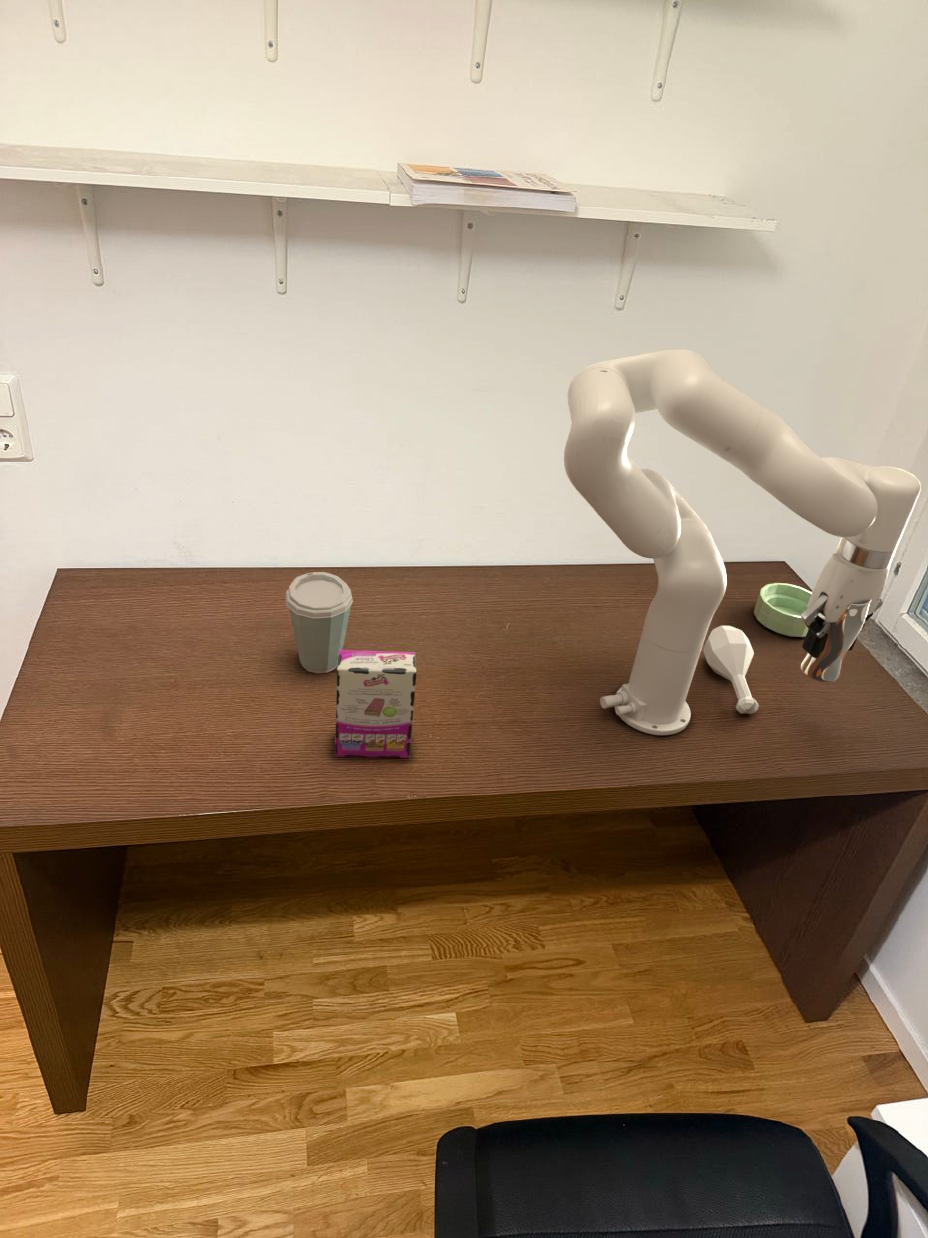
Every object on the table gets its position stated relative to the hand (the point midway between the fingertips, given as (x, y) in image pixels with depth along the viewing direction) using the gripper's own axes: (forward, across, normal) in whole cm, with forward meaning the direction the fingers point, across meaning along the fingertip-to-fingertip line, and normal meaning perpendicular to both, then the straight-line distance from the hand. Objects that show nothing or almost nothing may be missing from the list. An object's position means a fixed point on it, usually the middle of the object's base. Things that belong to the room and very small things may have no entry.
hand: (826, 648), depth 143 cm
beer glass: (+5, 0, 0) cm, 5 cm away
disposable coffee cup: (+15, +72, -37) cm, 82 cm away
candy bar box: (+15, +70, -15) cm, 73 cm away
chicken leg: (+16, +4, -12) cm, 21 cm away
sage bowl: (+16, -20, -26) cm, 36 cm away
